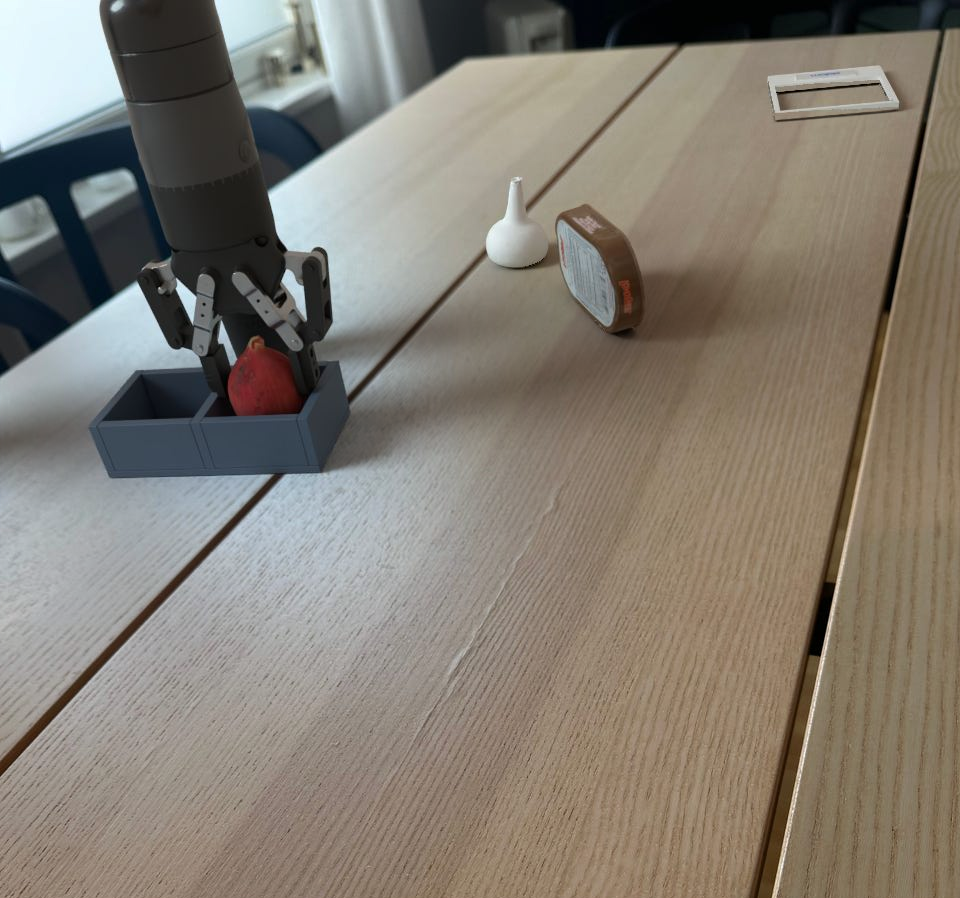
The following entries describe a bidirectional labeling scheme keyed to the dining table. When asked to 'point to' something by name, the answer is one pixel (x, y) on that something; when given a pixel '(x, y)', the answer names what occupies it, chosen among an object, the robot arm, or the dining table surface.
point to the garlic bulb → (516, 234)
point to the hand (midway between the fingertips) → (267, 392)
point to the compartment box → (213, 428)
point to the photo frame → (834, 76)
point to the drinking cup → (251, 332)
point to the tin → (600, 268)
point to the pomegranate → (263, 382)
